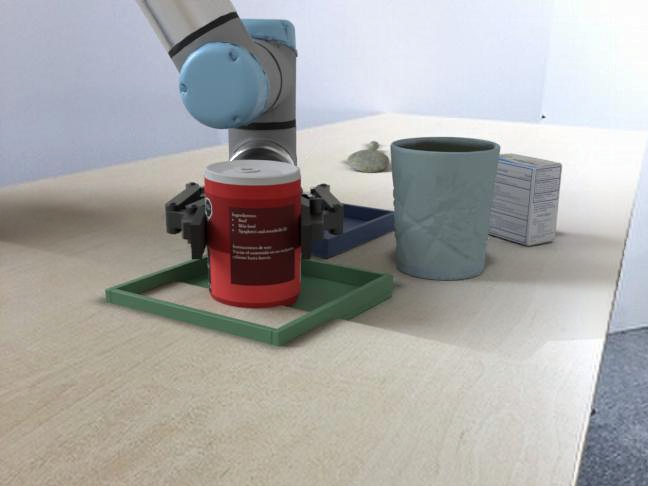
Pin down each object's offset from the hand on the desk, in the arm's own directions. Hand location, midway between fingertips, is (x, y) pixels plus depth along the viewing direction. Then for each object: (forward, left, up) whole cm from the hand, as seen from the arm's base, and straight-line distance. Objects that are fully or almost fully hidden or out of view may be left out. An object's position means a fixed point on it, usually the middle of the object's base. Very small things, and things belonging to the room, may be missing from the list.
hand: (251, 242), depth 65 cm
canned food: (-3, +4, -6) cm, 8 cm away
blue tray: (-13, +27, -7) cm, 31 cm away
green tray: (-3, +4, -7) cm, 8 cm away
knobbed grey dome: (-31, +73, -7) cm, 79 cm away
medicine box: (+7, +39, -7) cm, 40 cm away
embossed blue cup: (+5, +23, -7) cm, 25 cm away
